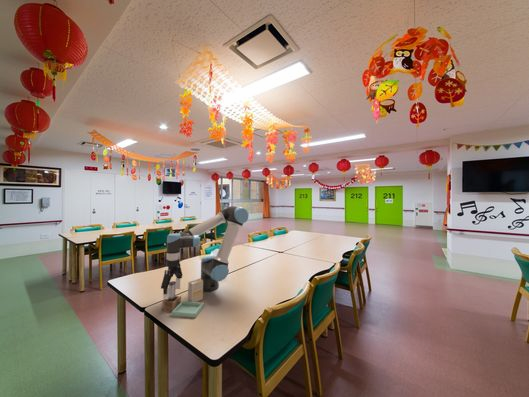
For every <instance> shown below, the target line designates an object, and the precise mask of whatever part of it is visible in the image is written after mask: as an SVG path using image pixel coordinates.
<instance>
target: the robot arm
mask: <svg viewBox="0 0 529 397" xmlns="http://www.w3.org/2000/svg"><path fill="white" fill-rule="evenodd" d="M248 220H249V212H248V209H246V208H245V207H244V206H243V207H242V206H228V207H226V208H224V209H223V210H221V211H219V212H218V213H217V214H215V215H214V216H212V217H209V218H208V219H206V220H204V221H202V222H200V223H199V224H197V225H195V226H193V227H192V228H189V229H188V230H185V231H180V232H179V233H174V232H173V233H169V234H168V235H167V237H166V261H165V265H166V267H167V269H166V270H164V275H163V279H162V282H161V285H160V289H162V290H163V291H162V292H163V294H162V296H163V298H162V299H163V300H165V299H167V300H168V295H169V283H170V282H171V280H172V277H174V276H175V277H176V278H175V282H176V287H175V290H180V289H181V279H182V278H183V272H182V268H181V263H180V260H181V259H180V258H181V250H182V249H187V248H195V247H196V248H197V247H199V246H200V244H201V237H200V236H201V235H203V234H205V233H206V232H209V231H210V230H212V229H214V228H215V227H218V226H220V225H221V224H225V223H227V224H228V225H227V227H226V229H225V232H224V234H223V238H222V240H221V243H220V245H219V248H218V251H217V253H216V255H208V256H203V257H202V258H201V259H200V260H201V262H200V278H199V279H201V280H203V293H204V292H213V291H215V290H217V289H219V287H220V284H219V282H221V281H223V280H225V279H226V278H227V277H228V275H229V263H230V262H229V257H230V255H231V252H232V249H233V247H234V244H235V242H236V238H237V235H238V233H239V230H240V228H242V227H243V225H244V224H245V223H246V222H248Z"/></svg>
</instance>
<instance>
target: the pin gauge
mask: <svg viewBox="0 0 529 397" xmlns="http://www.w3.org/2000/svg"><path fill="white" fill-rule="evenodd" d="M168 288H169V295H168V301H174V300H175V296H176V280H175V281H173V280H172V281H170V283H169V286H168Z"/></svg>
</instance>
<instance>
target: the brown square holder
mask: <svg viewBox="0 0 529 397" xmlns="http://www.w3.org/2000/svg"><path fill="white" fill-rule="evenodd" d="M181 302H182V296H180V295H175V300H174V301H168V300H167V299H163V301H162V311H169V312H170V311H171V312H172V311H173V310H174V309H175V308H176V307H177V306H178V305H179V304H180V303H181Z"/></svg>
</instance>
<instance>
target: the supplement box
mask: <svg viewBox="0 0 529 397" xmlns="http://www.w3.org/2000/svg"><path fill="white" fill-rule="evenodd" d="M187 284H188V285H187V287H188V288H187V289H188V290H187V292H188V294H187V302H201V301H203V300H204V298H203V296H204V291H203V280H201V279H200V278H197V279H193V280H192V281H188V283H187Z"/></svg>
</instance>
